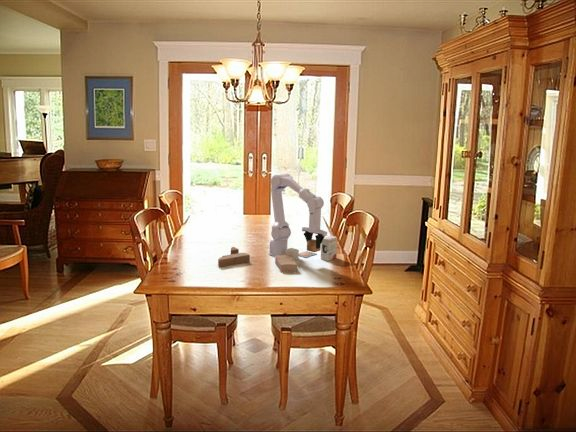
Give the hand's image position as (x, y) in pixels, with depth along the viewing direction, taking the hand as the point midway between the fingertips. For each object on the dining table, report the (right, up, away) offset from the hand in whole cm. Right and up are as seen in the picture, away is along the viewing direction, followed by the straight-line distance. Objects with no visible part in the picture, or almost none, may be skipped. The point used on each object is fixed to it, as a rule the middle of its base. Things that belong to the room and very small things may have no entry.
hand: (313, 247), depth 251 cm
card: (-3, -5, +20) cm, 21 cm away
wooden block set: (-44, -8, +5) cm, 45 cm away
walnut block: (0, -2, 0) cm, 2 cm away
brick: (-14, -10, -3) cm, 18 cm away
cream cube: (-11, -7, +12) cm, 18 cm away
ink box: (+9, -7, +14) cm, 18 cm away
